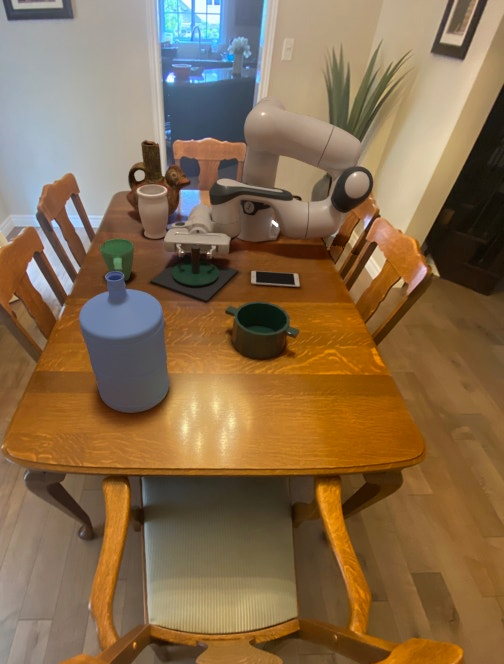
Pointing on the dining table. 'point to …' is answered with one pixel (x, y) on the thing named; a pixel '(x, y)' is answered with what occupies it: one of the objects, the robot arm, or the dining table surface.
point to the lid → (195, 270)
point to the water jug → (126, 346)
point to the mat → (195, 292)
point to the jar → (153, 210)
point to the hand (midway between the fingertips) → (195, 255)
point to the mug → (118, 256)
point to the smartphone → (275, 279)
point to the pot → (260, 329)
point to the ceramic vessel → (156, 177)
